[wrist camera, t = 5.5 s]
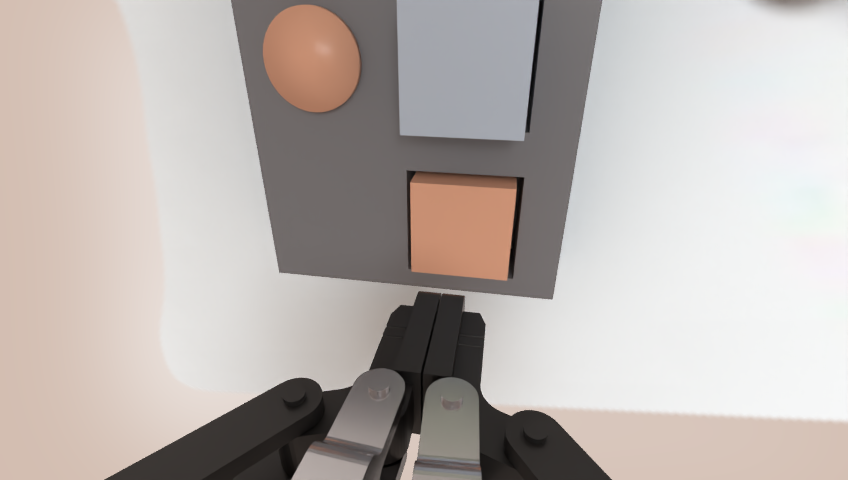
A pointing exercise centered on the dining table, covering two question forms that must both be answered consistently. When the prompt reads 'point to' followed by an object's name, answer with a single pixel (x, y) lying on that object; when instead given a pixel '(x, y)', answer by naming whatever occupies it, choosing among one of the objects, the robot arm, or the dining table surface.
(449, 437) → the robot arm
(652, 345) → the dining table surface
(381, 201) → the key panel
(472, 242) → the terracotta key
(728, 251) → the dining table surface
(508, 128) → the blue key
